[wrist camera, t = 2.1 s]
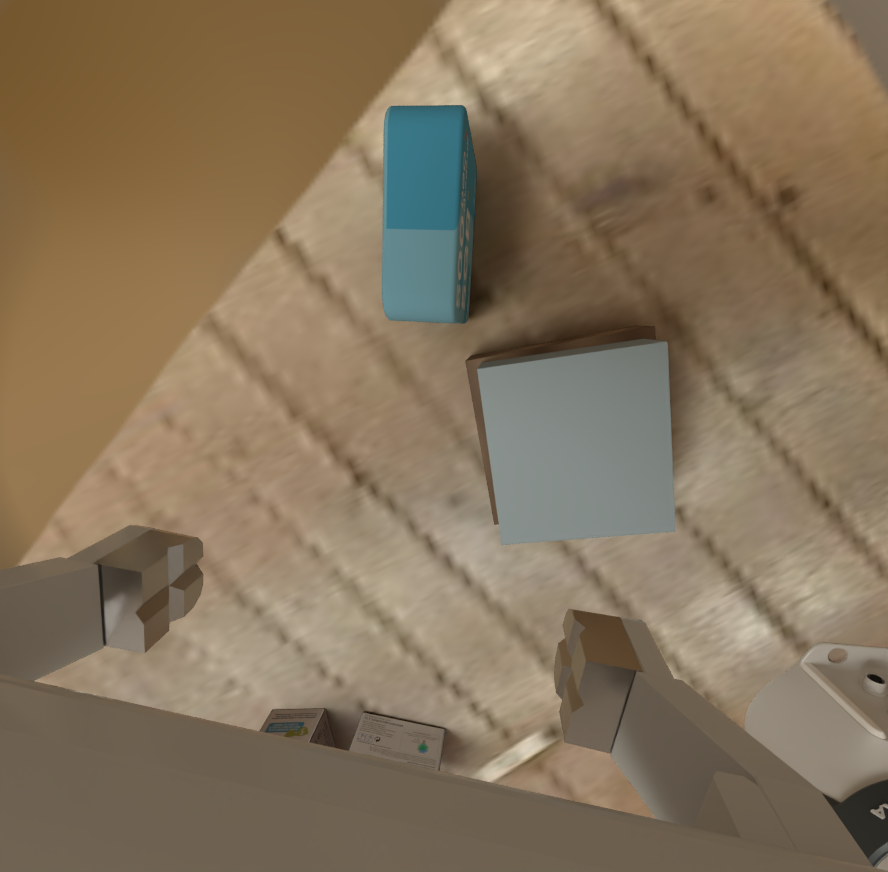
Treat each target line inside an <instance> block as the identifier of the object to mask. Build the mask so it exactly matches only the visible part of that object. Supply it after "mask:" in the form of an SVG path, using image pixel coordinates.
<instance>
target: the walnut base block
mask: <svg viewBox="0 0 888 872" xmlns="http://www.w3.org/2000/svg"><path fill="white" fill-rule="evenodd" d="M638 339H651V340H656V339H655V326H634V327H628V328H623V329H617V330H612V331H607V332H601V333H596V334H590V335H585V336H579V337H574V338H569V339H563V340H558V341H552V342H547V343H542V344H536V345H531V346H525V347H520V348H514V349H509V350H504V351H498V352H493V353H487V354H482V355H477V356H471V357H469V358H468V359H467V360H466V367H467V372H468V378H469V384H470V389H471V395H472V401H473V406H474V412H475V418H476V423H477V429H478V435H479V440H480V446H481V452H482V457H483V463H484V469H485V474H486V480H487V486H488V491H489V497H490V502H491V508H492V514H493V519H494V525H495V524H499V522H498V515H497V508H496V501H495V494H494V486H493V479H492V472H491V465H490V458H489V451H488V443H487V436H486V429H485V422H484V415H483V407H482V400H481V393H480V386H479V379H478V372H477V369H478V367H479V365H480V364H481V363H482V362H489V361H496V360H503V359H509V358H516V357H523V356H530V355H536V354H543V353H550V352H557V351H563V350H570V349H577V348H584V347H590V346H597V345H604V344H611V343H617V342H624V341H631V340H638Z"/></svg>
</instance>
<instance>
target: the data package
mask: <svg viewBox="0 0 888 872" xmlns="http://www.w3.org/2000/svg"><path fill="white" fill-rule="evenodd" d="M476 183H477V169H476V161H475V155H474V150H473V144H472V138H471V133H470V127H469V121H468V116H467V111H466V108H465V107H464V106H462V105H443V106H391V107H389V108H388V109H387V111H386V114H385V120H384V157H383V256H382V301H383V308H384V312H385V315H386V317H387V318H388V319H389V320H395V321H416V322H437V323H466V322H467V321H468V316H469V305H470V288H471V271H472V254H473V237H474V219H475V202H476Z"/></svg>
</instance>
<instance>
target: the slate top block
mask: <svg viewBox="0 0 888 872" xmlns="http://www.w3.org/2000/svg"><path fill="white" fill-rule="evenodd" d="M477 372H478V379H479V386H480V393H481V400H482V407H483V415H484V422H485V429H486V436H487V443H488V451H489V458H490V465H491V472H492V479H493V486H494V494H495V501H496V508H497V515H498V522H499V529H500V537H501V544H502V545H507V544H520V543H533V542H546V541H559V540H572V539H585V538H597V537H610V536H623V535H636V534H649V533H662V532H675V508H674V484H673V459H672V435H671V411H670V386H669V362H668V341H660V340H651V339H638V340H631V341H624V342H617V343H611V344H604V345H597V346H590V347H584V348H577V349H570V350H563V351H557V352H550V353H543V354H536V355H530V356H523V357H516V358H509V359H503V360H496V361H489V362H482V363H481V364H480V365H479V367H478V369H477Z"/></svg>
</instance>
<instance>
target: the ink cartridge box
mask: <svg viewBox="0 0 888 872" xmlns="http://www.w3.org/2000/svg"><path fill="white" fill-rule="evenodd" d="M444 737H445V730H444V729H441V728H436V727H431V726H426V725H421V724H416V723H412V722H407V721H402V720H397V719H393V718H388V717H383V716H378V715H373V714H369V713H362V716H361V718H360V721H359V724H358V727H357V729H356V732H355V735H354V738H353V741H352V743H351V746H350V749H349V751H351V752H355V753H360V754H364V755H369V756H373V757H378V758H382V759H387V760H391V761H396V762H400V763H405V764H409V765H414V766H418V767H423V768H427V769H432V770H436V771H439V770H440V762H441V756H442V749H443V743H444Z"/></svg>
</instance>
